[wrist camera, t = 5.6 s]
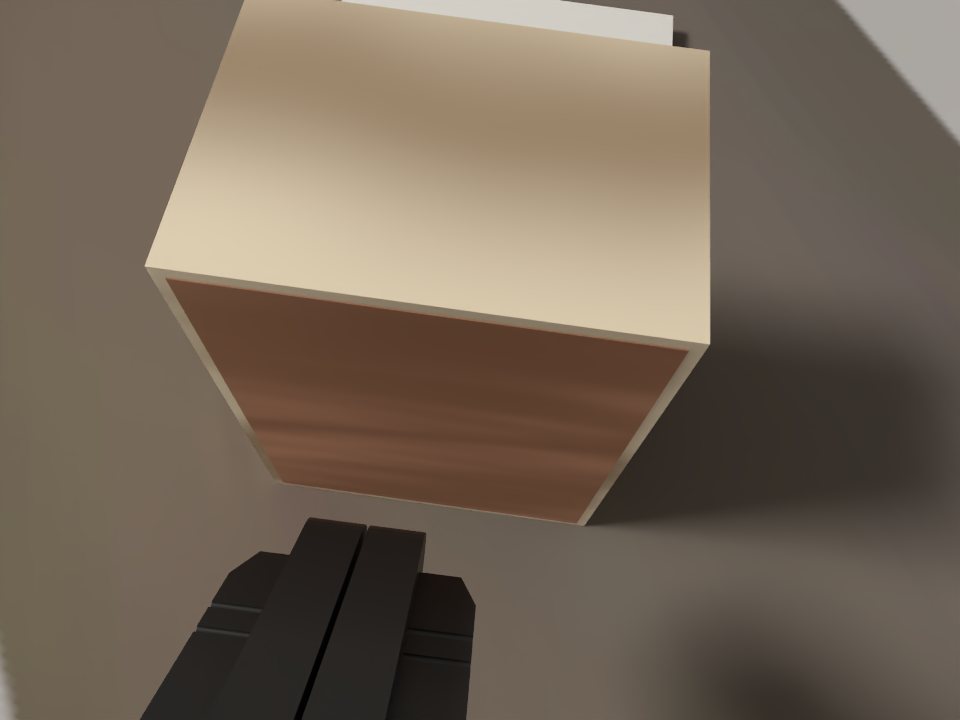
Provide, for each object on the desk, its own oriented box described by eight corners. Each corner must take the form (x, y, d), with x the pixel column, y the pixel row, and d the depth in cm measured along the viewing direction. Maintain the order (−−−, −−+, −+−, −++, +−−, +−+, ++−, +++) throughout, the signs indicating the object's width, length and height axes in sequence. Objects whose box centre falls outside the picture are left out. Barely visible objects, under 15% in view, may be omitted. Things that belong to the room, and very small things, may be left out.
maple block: (584, 527, 18) (710, 346, 10) (276, 484, 18) (144, 267, 10) (597, 331, 20) (710, 51, 12) (323, 294, 20) (248, -11, 12)
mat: (659, 305, 20) (665, 293, 20) (275, 252, 20) (271, 239, 20) (667, 31, 25) (673, 15, 24) (352, -11, 25) (350, -29, 24)
